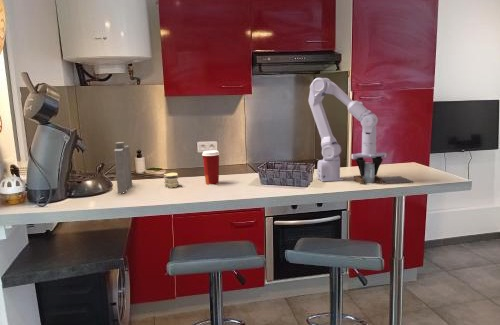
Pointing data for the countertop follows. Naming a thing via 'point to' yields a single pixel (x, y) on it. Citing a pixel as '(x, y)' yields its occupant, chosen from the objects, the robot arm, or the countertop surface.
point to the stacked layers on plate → (171, 180)
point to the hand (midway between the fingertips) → (368, 175)
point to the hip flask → (122, 167)
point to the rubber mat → (395, 180)
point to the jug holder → (361, 181)
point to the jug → (369, 172)
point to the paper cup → (211, 166)
